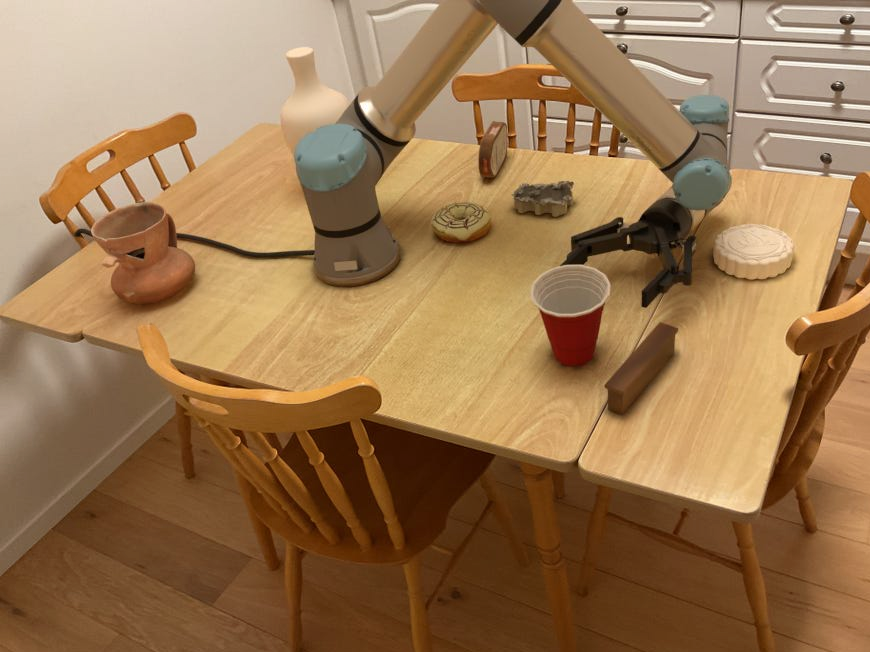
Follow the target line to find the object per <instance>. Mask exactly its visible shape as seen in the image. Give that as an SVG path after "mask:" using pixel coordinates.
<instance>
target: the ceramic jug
mask: <svg viewBox="0 0 870 652" xmlns="http://www.w3.org/2000/svg"><path fill="white" fill-rule="evenodd" d="M90 231H91V234H92V236H93V237H92V236H91V237H92V238H93V239H94V241H95V242H96V244H97V245H98V246H99V248H101V249H102V251H104V252H105V253H106V254H107V255H106V256H105V257H104V258H103V259H102V262H101V265H102V266H103V267H104V268H108V269H109V268H113V267H114V266H115V265H116V264H117V263H118V265H117V266H116V268H115V269H114V270H113V272H112V274H111V276H110V277H111V278H110V288H111V290H112V292H113V293H114V294H115V295H116V296H117V298H119V299H121V300H122V301H124V302H127V303H131V304H137V305H145V304H152V303H157V302H160V301H163V300H165V299H168V298H171V297H172V296H174V295H176V294H178V293H179V292H181V291H182V290H183V289H184V288H186V286H187V285H189V283H190V282H191V281H192V279H193V278H194V275H195V273H196V263H195V260H194V258H193V256H192V255H191V254H190V253H189V252H187V251H186V250H183V248H178V238H177V234H176V233H177V228H176V223H175V221H174V219H173V217H172V215H170V214H169V213H168V212H167V210H166V208H165V207H164V206H163V205H161V204H160V203H157V202H156V203H155V202H153V201H142V202H136V203H135V202H134V203H129V204H126V205H124V206H120V207H118V208H115V209H113V210H111V211H109V212H107V213H105V214H104V215H102V216H101V217H99V218H98V219H97V220H96V221H94V223H93V224H92V227H91V229H90Z"/></svg>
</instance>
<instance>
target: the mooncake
mask: <svg viewBox="0 0 870 652" xmlns="http://www.w3.org/2000/svg"><path fill="white" fill-rule="evenodd" d="M794 249H795V245H794V243H793V239H792V238H791V237H789V236H788V234H787V233H786V232H785V231H782V230H780V229H779V228H777V227H771V226H769V225H766V224H765V225H764V224H763V223H762V224H757V223H748V224H744V223H743V224H740V225H739V226H738V225H737V226H736V225H734V226H731V227H729V228H728V229H724V230H722V231H721V233H719V234H717V236H716V238H715V240H714V242H713V252H712V253H713V254H712V257H713V260H714V261H713V262H714V264H715V265H716V266H717V267H718V269H719V270H721V271H723V272H725V274H727V275H730V276H734V277H735V278H738V279H744V278H745V279H746V280H751V281H752V280H757V279H758V280H766V279H767V278H776V277H777V276H778V275H780V274H781V275H782V274H784V273H785V272H786V270H787V269H789V268H790V267H791V265H792V262H793V256H794V251H795V250H794Z"/></svg>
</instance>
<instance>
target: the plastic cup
mask: <svg viewBox="0 0 870 652" xmlns="http://www.w3.org/2000/svg"><path fill="white" fill-rule="evenodd" d="M529 293H530V294H529V296H530V297H531V300H532V303H533V305H534V307H536V308H537V309H538V311H539V313H540V315H541V319H542V322H543V325H544V329H545V332H546V336H547V339H548V341H549V343H550V347H551V351H552V354H553V355H554V358H555V360H556V361H557V362H558V363H560V365H564V366H565V367H581V366H584V365H586V364H588V363H590V362H591V361H592V359H593V358H594V355H595V353H596V348H597V342H598V340H599V333H600V328H601V324H602V323H601V322H602V317H603V312H604V310H605V309H604V308H605V305H606V302H607V300H608V298H609V297H610V295H611V282H610V280H609V279H608V277H607V274H605V273H603V272H601V270H599V269H597V268H596V267H593V266H587V265H585V264H584V265H564V266H560V265H559V266H556V267H552V268H550V269H548V270H546V271H544V272H543V273H542V274H539V276H538V277H537V278H536V279H535V280H534V281H533V282H532V283H531V287H530V291H529Z"/></svg>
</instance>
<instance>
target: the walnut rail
mask: <svg viewBox="0 0 870 652" xmlns="http://www.w3.org/2000/svg"><path fill="white" fill-rule="evenodd" d="M678 332H679V327H677V326H673V325H670V324H667V323H664V322H661V321H660V322H658V323H657V325H656V326H655V327H654V328H653V329H652V330H651V332H650V333H649V334H648V335H647V336H646V337H645V338H644V339H643V340H642V342H641V343H640V344H639V345H638V346H637V347H636V348H635V349H634V351H633V352H632V353H631V354H630V355H629V356H628V358H626V360H625V361H624V362H623V363H622V364H621V365H620V366H619V368H618V369H617V370H616V371H615V372H614V373H613V374H612V375H611V376H610V377H609V379H608V380H607V381H606V382H605V383H604V389H606V390H607V410H609V411H610V412H613V413H615V414H619V415H620V416H624V414H625V413H626V412H627V410H628V409H629V408H630V407H631V406H632V404H633V403H634V402H635V401H636V400H637V399H638V397H639V396H641V394H642V392H644V390H645V389H646V388H647V386H648V385H649V384H650V383H651V382H652V380H653V379H655V377H656V376H657V375H658V373H659V372H660V371H661V370H662V369H663V367H665V365H666V364H667V363H668V362H669V360H670V359H671V358H672V356H673V355H675V345H676V334H678Z"/></svg>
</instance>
